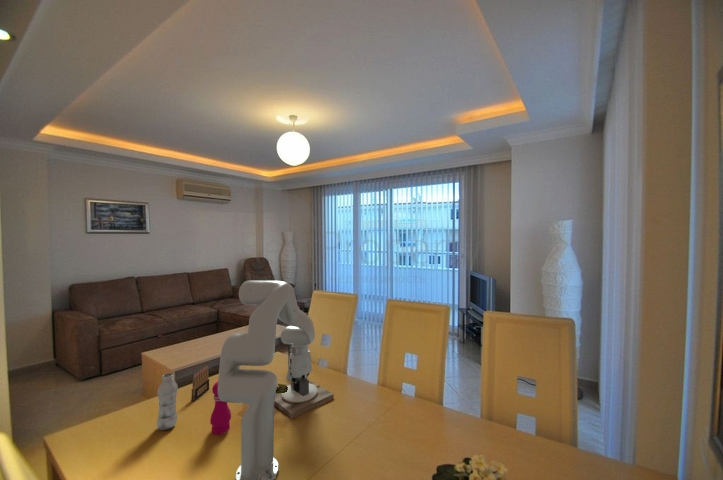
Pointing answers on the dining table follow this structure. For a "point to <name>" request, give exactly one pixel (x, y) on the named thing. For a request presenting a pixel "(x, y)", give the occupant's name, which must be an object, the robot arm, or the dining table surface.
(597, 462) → the dining table surface
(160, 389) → the plastic bottle
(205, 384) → the ammunition clip
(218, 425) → the pepper mill
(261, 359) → the robot arm
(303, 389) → the dial
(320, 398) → the dial board
